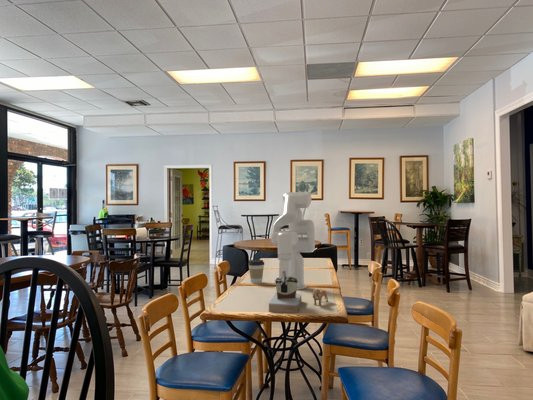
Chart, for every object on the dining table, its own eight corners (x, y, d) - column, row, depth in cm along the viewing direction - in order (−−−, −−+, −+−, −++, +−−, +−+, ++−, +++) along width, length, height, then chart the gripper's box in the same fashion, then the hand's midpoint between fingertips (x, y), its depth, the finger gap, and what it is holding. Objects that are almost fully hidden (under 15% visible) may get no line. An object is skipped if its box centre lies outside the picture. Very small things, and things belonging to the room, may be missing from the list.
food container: (295, 294, 183) (295, 275, 182) (298, 298, 176) (298, 279, 176) (272, 295, 181) (272, 276, 180) (274, 299, 175) (274, 280, 174)
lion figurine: (320, 308, 173) (320, 290, 173) (310, 306, 175) (310, 289, 175) (329, 300, 186) (329, 284, 186) (320, 299, 188) (319, 283, 189)
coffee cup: (265, 280, 237) (265, 259, 237) (264, 284, 226) (263, 261, 226) (249, 280, 238) (249, 259, 238) (246, 284, 227) (246, 261, 227)
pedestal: (275, 300, 188) (275, 293, 188) (301, 301, 185) (301, 293, 185) (268, 311, 168) (268, 303, 168) (297, 312, 166) (297, 304, 166)
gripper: (280, 254, 186) (280, 286, 186) (275, 259, 169) (275, 294, 169) (294, 254, 185) (294, 286, 185) (290, 259, 168) (290, 294, 168)
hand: (285, 290), depth 177 cm, fingers open, 9 cm apart
